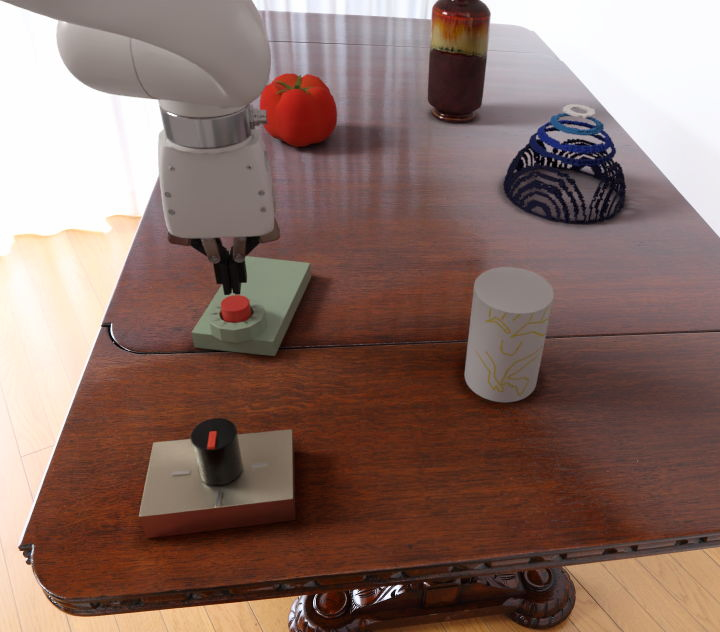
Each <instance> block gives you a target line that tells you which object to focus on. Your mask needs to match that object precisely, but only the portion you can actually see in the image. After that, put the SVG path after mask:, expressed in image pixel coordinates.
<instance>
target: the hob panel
mask: <svg viewBox="0 0 720 632" xmlns="http://www.w3.org/2000/svg"><path fill="white" fill-rule="evenodd" d="M237 435H238V441H239V446H240V452H241V458H242V464H243V467H242V471H241V473H240V474H239V476H238V477H237V478H236V479H234V480H233V481H231V482H229V483H227V484H224V485H210V484H207V483H205V482H203V481H202V480H201V478H200V477H199V473H198V469H197V465H196V460H195V456H194V452H193V448H192V443H191V438H186V439H175V440H165V441H163V440H162V441H156V442H155V441H154V442H152V448H151V453H150V458H149V462H148V467H147V472H146V477H145V483H144V486H143V487H144V488H143V493H142V498H141V503H140V508H139V513H138V519H139V521H140V525H141V528H142V531H143V534H144V536H145V539H146V540H147V539H154V538H163V537H164V538H165V537H170V536H171V537H172V536H180V535H187V534H196V533H202V532H212V531H219V530H227V529H228V530H229V529H236V528H243V527H252V526H258V525H259V526H260V525H268V524H277V523H283V522H285V523H286V522H290V521H291V522H292V521H296V469H295V467H296V465H295V461H296V460H295V444H294V434H293V429H292V428H291V429H290V428H289V429H280V430H279V429H278V430H270V431H259V432H248V433H239V434H238V433H237Z"/></svg>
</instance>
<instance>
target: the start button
mask: <svg viewBox="0 0 720 632" xmlns="http://www.w3.org/2000/svg"><path fill="white" fill-rule="evenodd" d="M221 311H222V317H223V319H224V320H225V321H226V322H229V323H239V322H244V321H246V320H248V319H249V318H250V316H251V309H250V301H249V299H248V298H247V297H245V296H242V295H232V296H229V297H226V298H225V299H223V300H222V302H221Z"/></svg>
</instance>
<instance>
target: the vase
mask: <svg viewBox="0 0 720 632" xmlns="http://www.w3.org/2000/svg"><path fill="white" fill-rule="evenodd" d="M490 10H491V9H490V8H489V7H488V6H487V4H486V3H485V2H484V1H482V0H437V1H436V2H434V4H433V5H432V8H431V20H430V36H429V37H430V38H429V55H428V57H429V59H428V75H427V76H428V77H427V78H428V79H427V102H428V103H429V105H430V106H432V107H433V108H432V110H431V115H432V117H433V118H435V119H436V120H438V121H441V122H444V123H450V124H467V123H471V122H473V121H474V120H475V119H476V117H477V114H476V113H477V112H476V111H477V110H479V109H481V107H482V104H483V99H484V98H483V97H484V89H485V81H486V80H485V79H486V71H487V70H486V69H487V60H488V59H487V58H488V52H489V42H490V41H489V40H490V31H491V18H492V14H491V11H490Z"/></svg>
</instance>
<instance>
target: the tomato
mask: <svg viewBox="0 0 720 632" xmlns="http://www.w3.org/2000/svg"><path fill="white" fill-rule="evenodd" d="M259 110H266V113H267V125H262V126H263V128H264V130H266V132H267V133H268V135H270V136H271V137H273V138H274V139H276V140H279V141H284V142H285V143H286V144H287V145H289V146H292V147H295V148H300V147H301V148H302V147H307V146H310V145H317V144H320V143H322V142H324V141H325V140H327V139H329V138H330V136H331V135H332V134H333V132H334V131H335V130H336V126H337V122H338V109H337V105H336V101H335V98H334V96H333V95H332V93H331V91H330V88H329V86H328V85H327V84H326V83H325V82H324V81H323V80H322V79H321V78H320V77H319V76H316V75H313V74H311V73H306V74H304V75H303V76H302V75H301V74H300V75H298V74H296V73H282V74H281V75H278V76H276V77H274V79H273V80H271V82H270V83H269V84H267V85H266V87H265V88H264V90H263V92H262V94H261V95H260V99H259Z"/></svg>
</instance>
